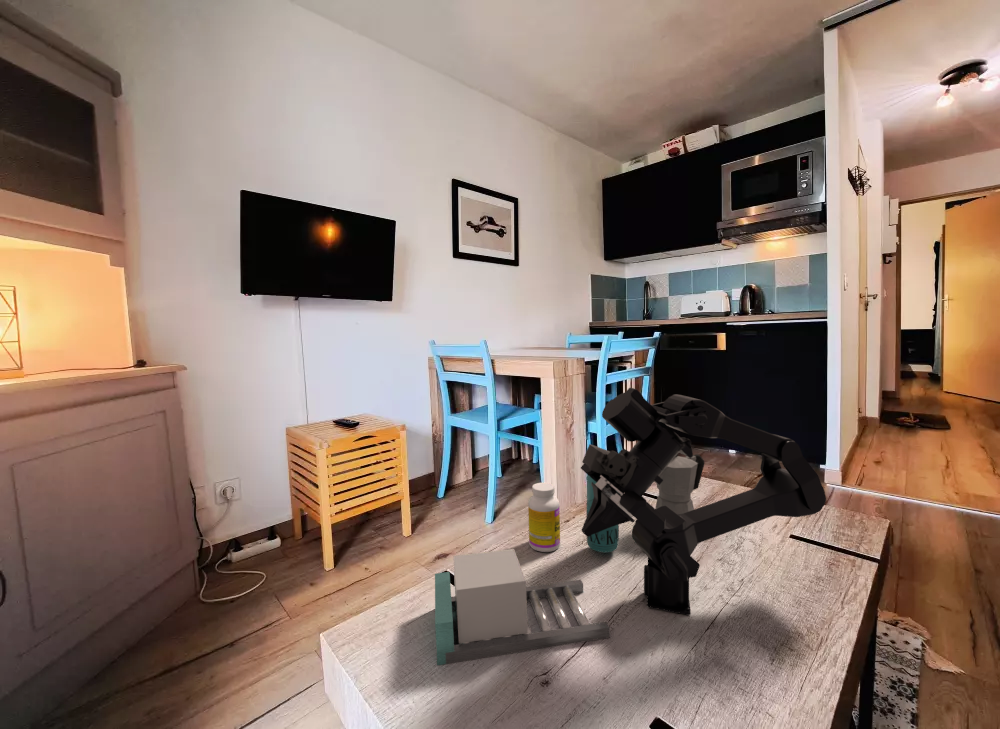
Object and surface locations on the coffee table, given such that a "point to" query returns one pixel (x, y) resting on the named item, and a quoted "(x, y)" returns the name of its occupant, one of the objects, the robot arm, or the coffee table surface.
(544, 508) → the supplement bottle
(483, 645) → the roller bed
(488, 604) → the off-white matte cube
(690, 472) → the coffeepot
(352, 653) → the coffee table surface
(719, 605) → the coffee table surface
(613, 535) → the beverage bottle
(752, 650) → the coffee table surface
